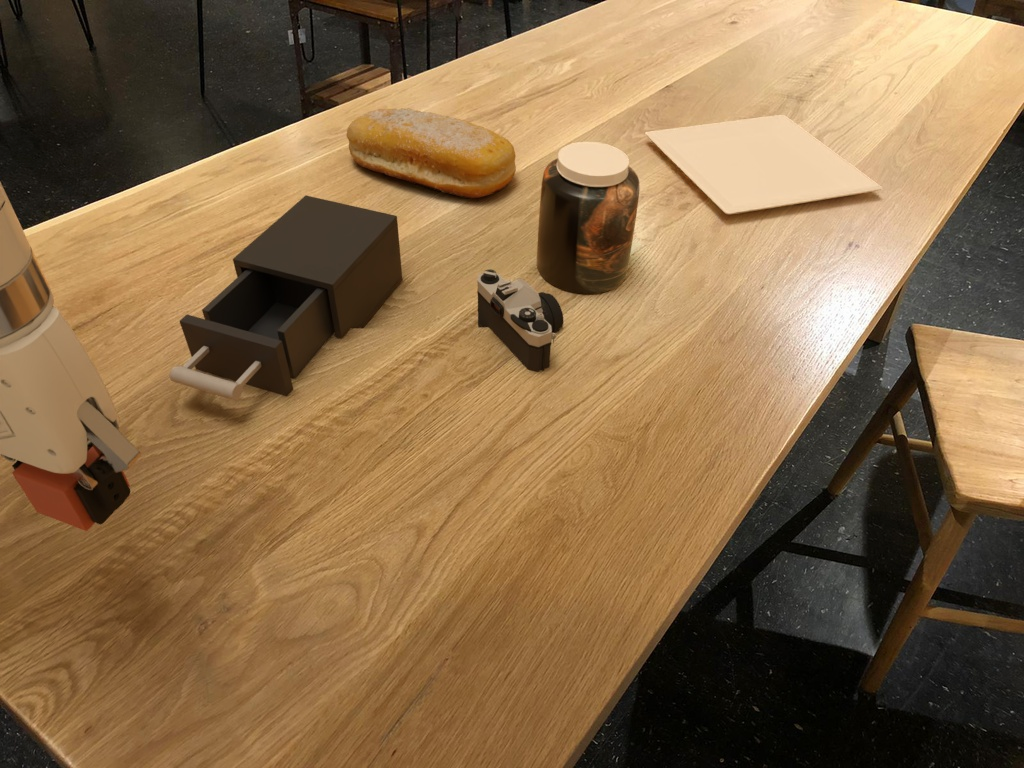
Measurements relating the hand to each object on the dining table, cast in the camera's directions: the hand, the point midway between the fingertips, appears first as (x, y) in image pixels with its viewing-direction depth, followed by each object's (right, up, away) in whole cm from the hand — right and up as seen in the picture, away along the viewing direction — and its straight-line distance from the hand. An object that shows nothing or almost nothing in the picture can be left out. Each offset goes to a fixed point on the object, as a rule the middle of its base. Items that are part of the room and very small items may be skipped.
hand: (82, 495), depth 55 cm
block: (0, 0, 0) cm, 0 cm away
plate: (+69, +41, +63) cm, 102 cm away
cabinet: (+9, +18, +36) cm, 41 cm away
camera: (+33, +12, +31) cm, 47 cm away
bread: (+19, +40, +60) cm, 74 cm away
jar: (+40, +23, +43) cm, 63 cm away
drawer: (+5, +10, +26) cm, 29 cm away
